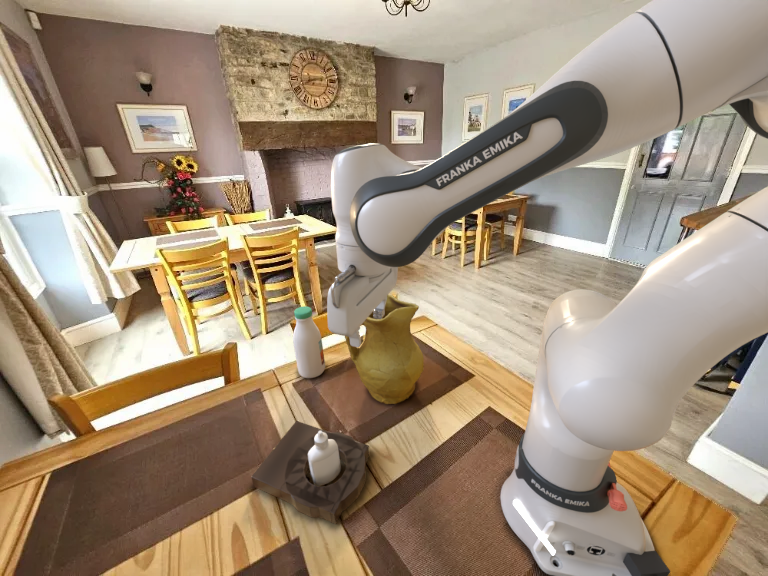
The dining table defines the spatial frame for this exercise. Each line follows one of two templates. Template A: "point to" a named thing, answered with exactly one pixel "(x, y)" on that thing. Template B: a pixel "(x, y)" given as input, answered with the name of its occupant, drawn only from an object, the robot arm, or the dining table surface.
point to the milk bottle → (307, 344)
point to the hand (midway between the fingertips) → (368, 329)
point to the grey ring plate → (291, 466)
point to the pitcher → (389, 353)
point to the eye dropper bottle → (324, 459)
